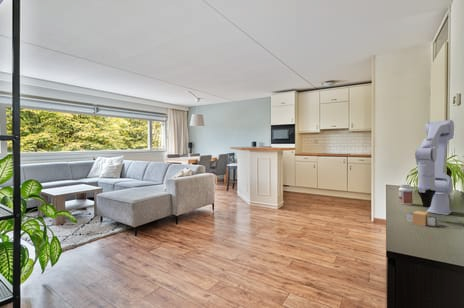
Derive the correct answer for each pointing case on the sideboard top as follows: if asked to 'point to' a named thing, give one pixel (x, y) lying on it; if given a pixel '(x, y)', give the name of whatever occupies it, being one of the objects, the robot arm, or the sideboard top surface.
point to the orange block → (420, 218)
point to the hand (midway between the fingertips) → (426, 206)
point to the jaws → (430, 220)
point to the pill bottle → (405, 194)
